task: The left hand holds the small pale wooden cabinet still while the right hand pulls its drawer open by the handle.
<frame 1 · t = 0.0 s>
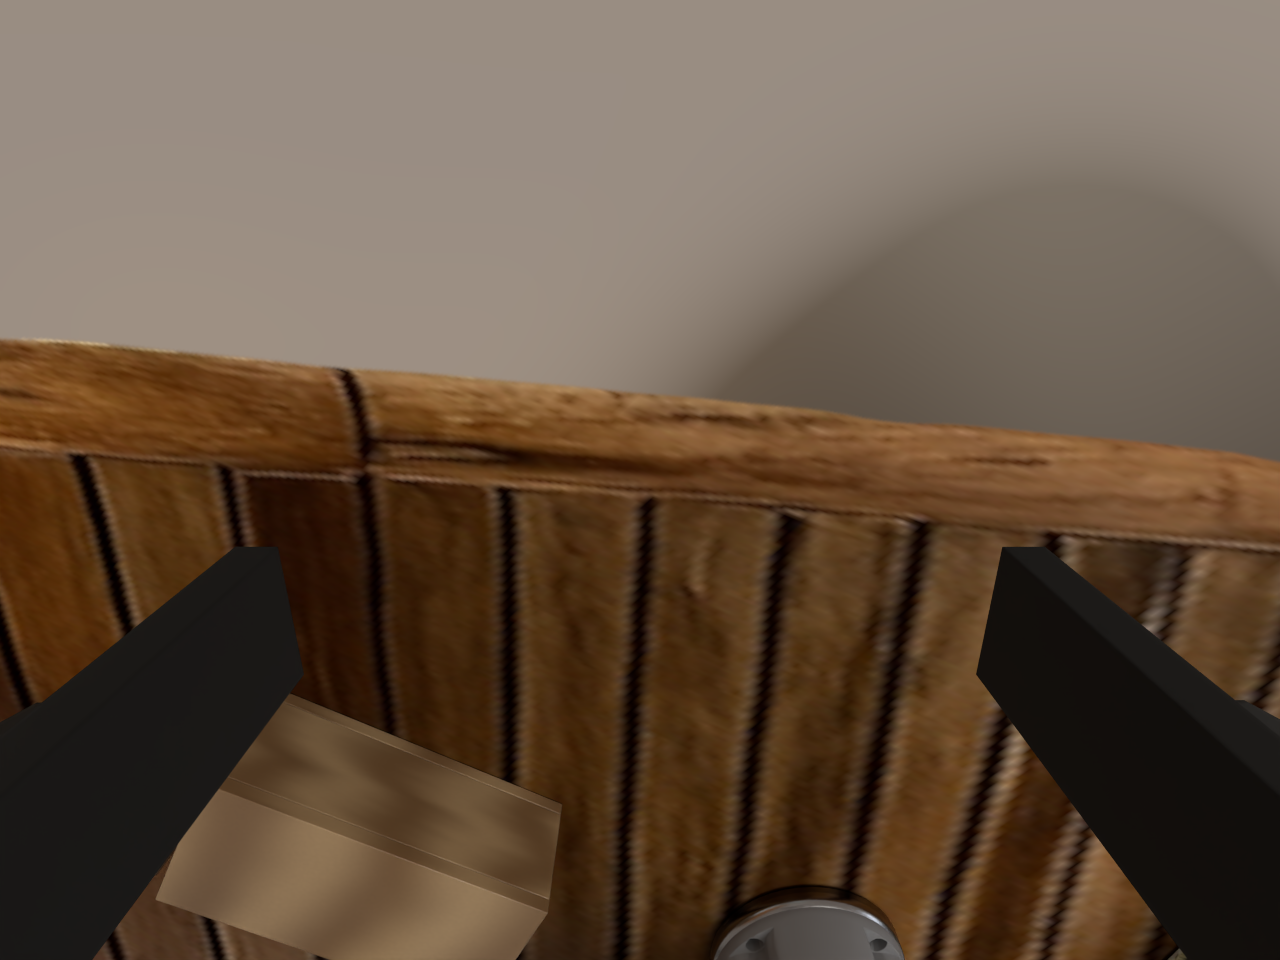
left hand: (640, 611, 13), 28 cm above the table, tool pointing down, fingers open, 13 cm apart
cabinet: (397, 797, 51), on the table
drawer: (304, 820, 46), point 4 cm above the table, slide at 0.7 cm
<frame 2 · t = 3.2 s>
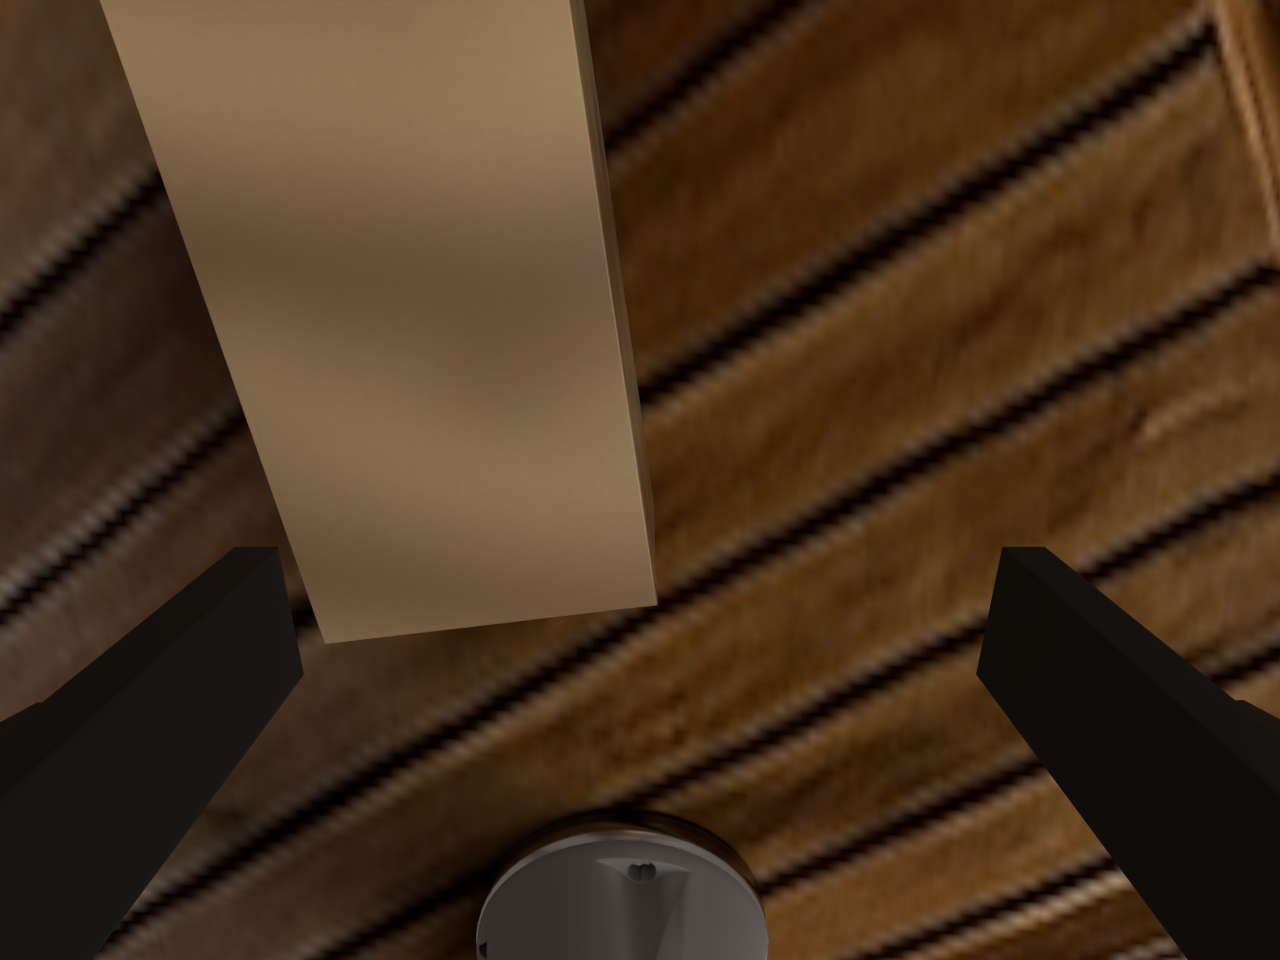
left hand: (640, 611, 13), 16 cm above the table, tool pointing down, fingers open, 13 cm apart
cabinet: (474, 245, 25), on the table
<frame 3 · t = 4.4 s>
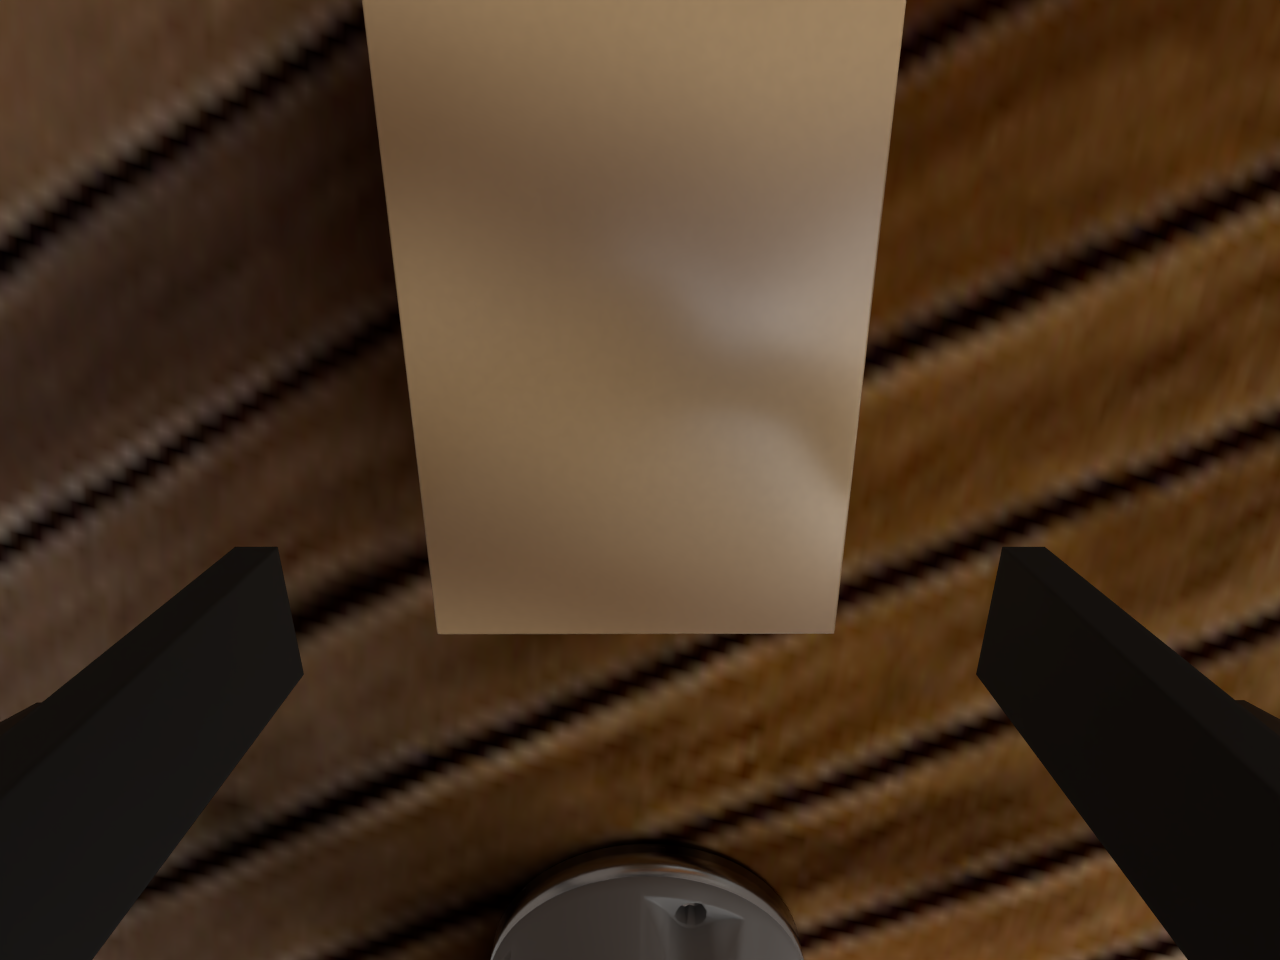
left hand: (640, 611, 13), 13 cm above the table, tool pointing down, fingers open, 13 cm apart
cabinet: (635, 199, 22), on the table
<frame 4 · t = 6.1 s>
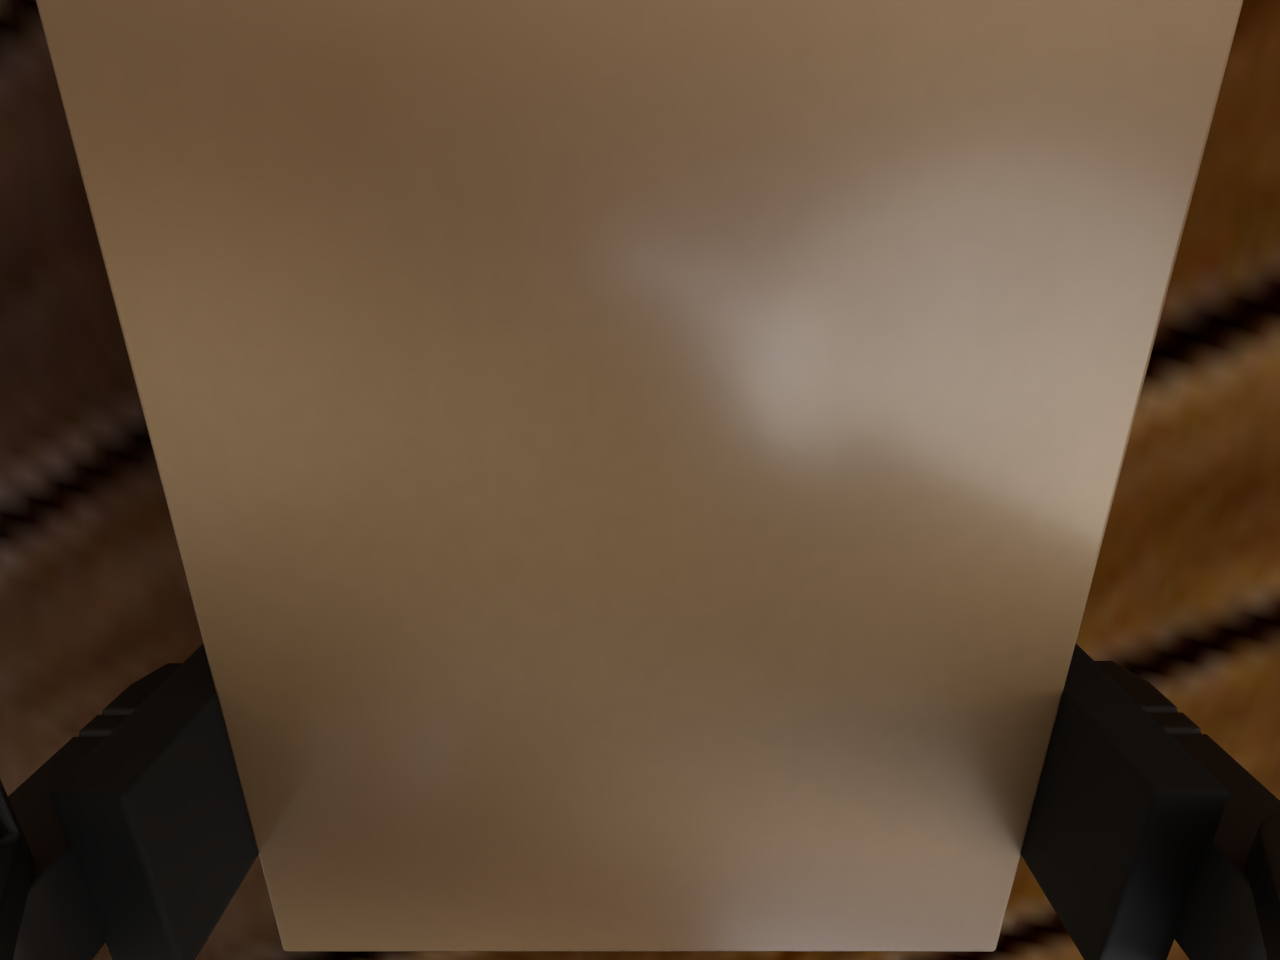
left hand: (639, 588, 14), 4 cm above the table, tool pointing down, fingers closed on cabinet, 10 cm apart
cabinet: (639, 178, 14), on the table, touching left hand
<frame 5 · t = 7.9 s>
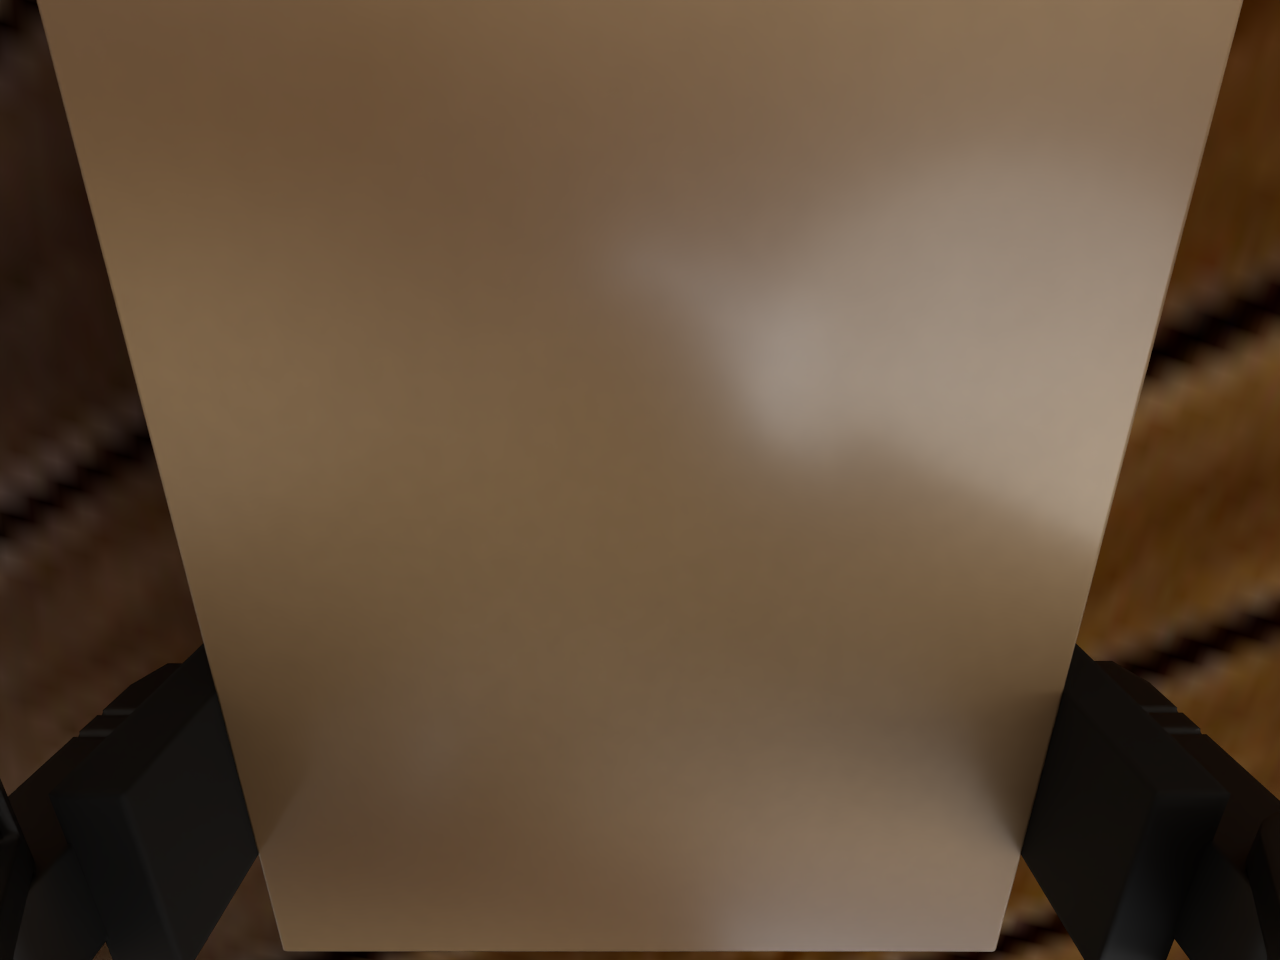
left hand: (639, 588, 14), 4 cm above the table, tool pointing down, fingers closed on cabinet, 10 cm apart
cabinet: (639, 178, 14), on the table, touching left hand
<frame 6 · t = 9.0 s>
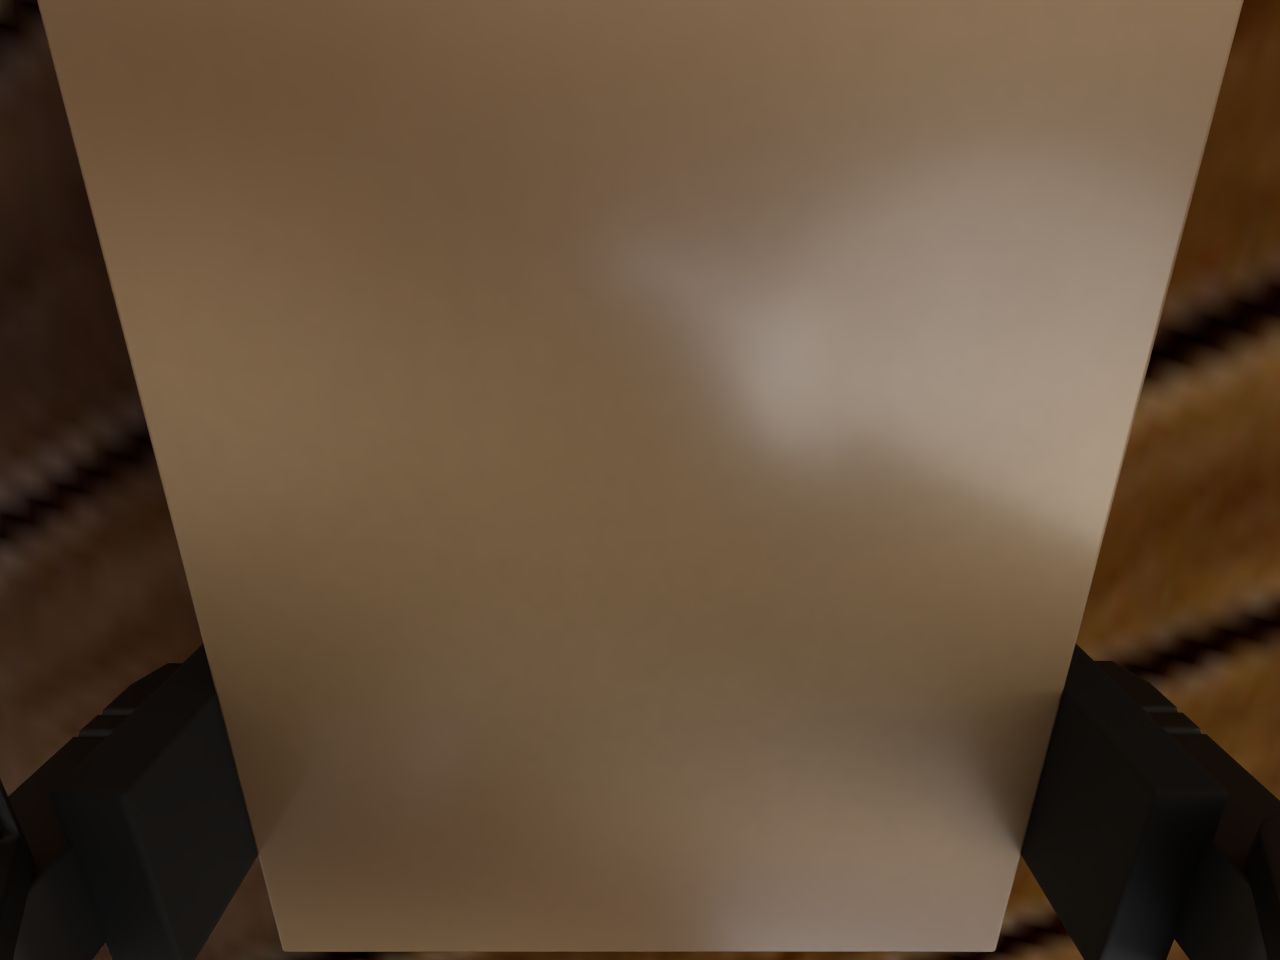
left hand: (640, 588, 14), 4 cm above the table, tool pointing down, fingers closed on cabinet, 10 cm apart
cabinet: (639, 178, 14), on the table, touching left hand
when the left hand's fingers open (4 cm above the table, at t = 10.8 s): cabinet stays where it is, on the table.
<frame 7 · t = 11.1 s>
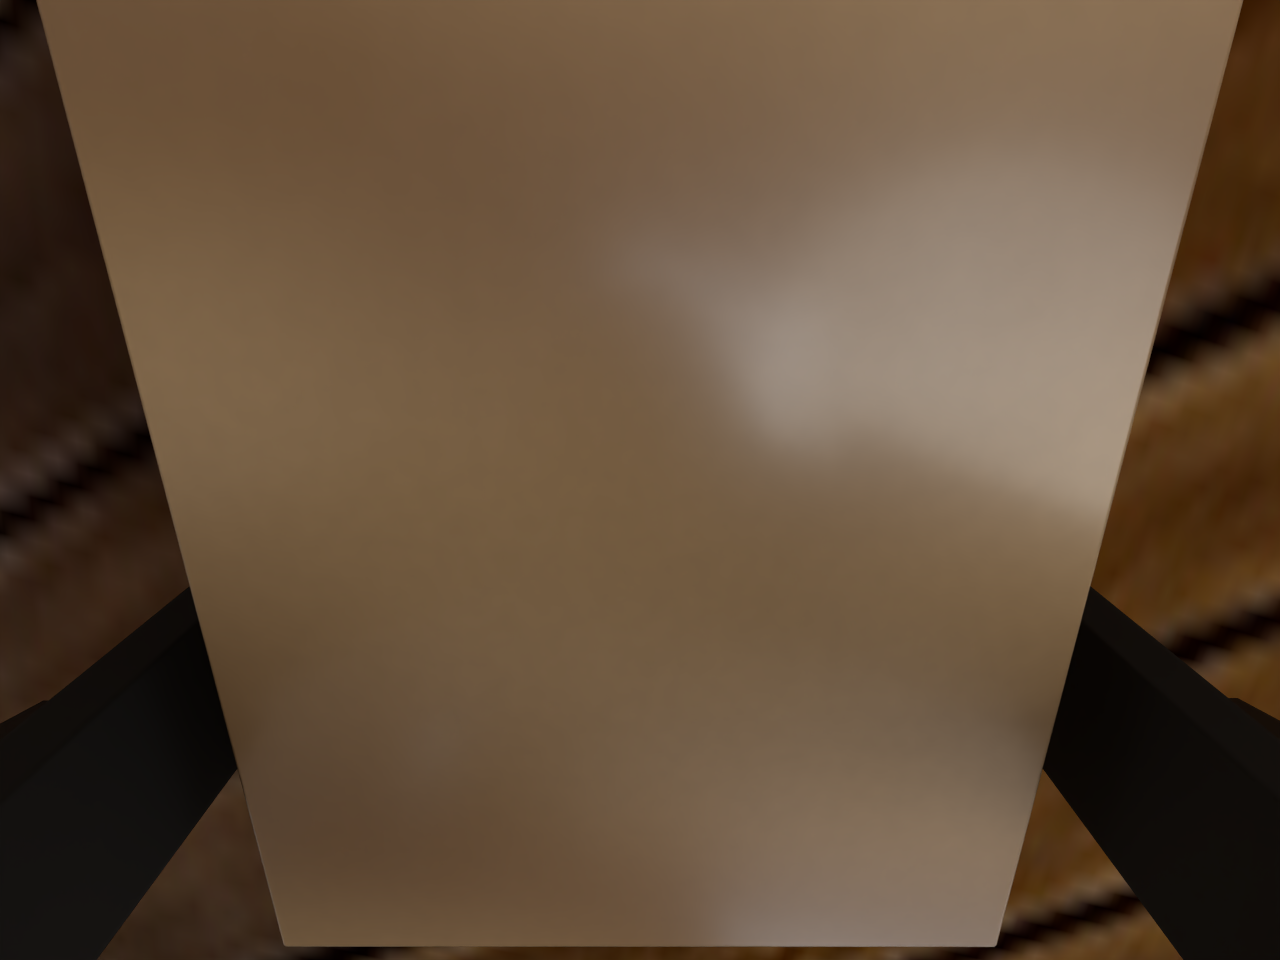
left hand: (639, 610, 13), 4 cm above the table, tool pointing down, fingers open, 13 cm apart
cabinet: (640, 173, 14), on the table
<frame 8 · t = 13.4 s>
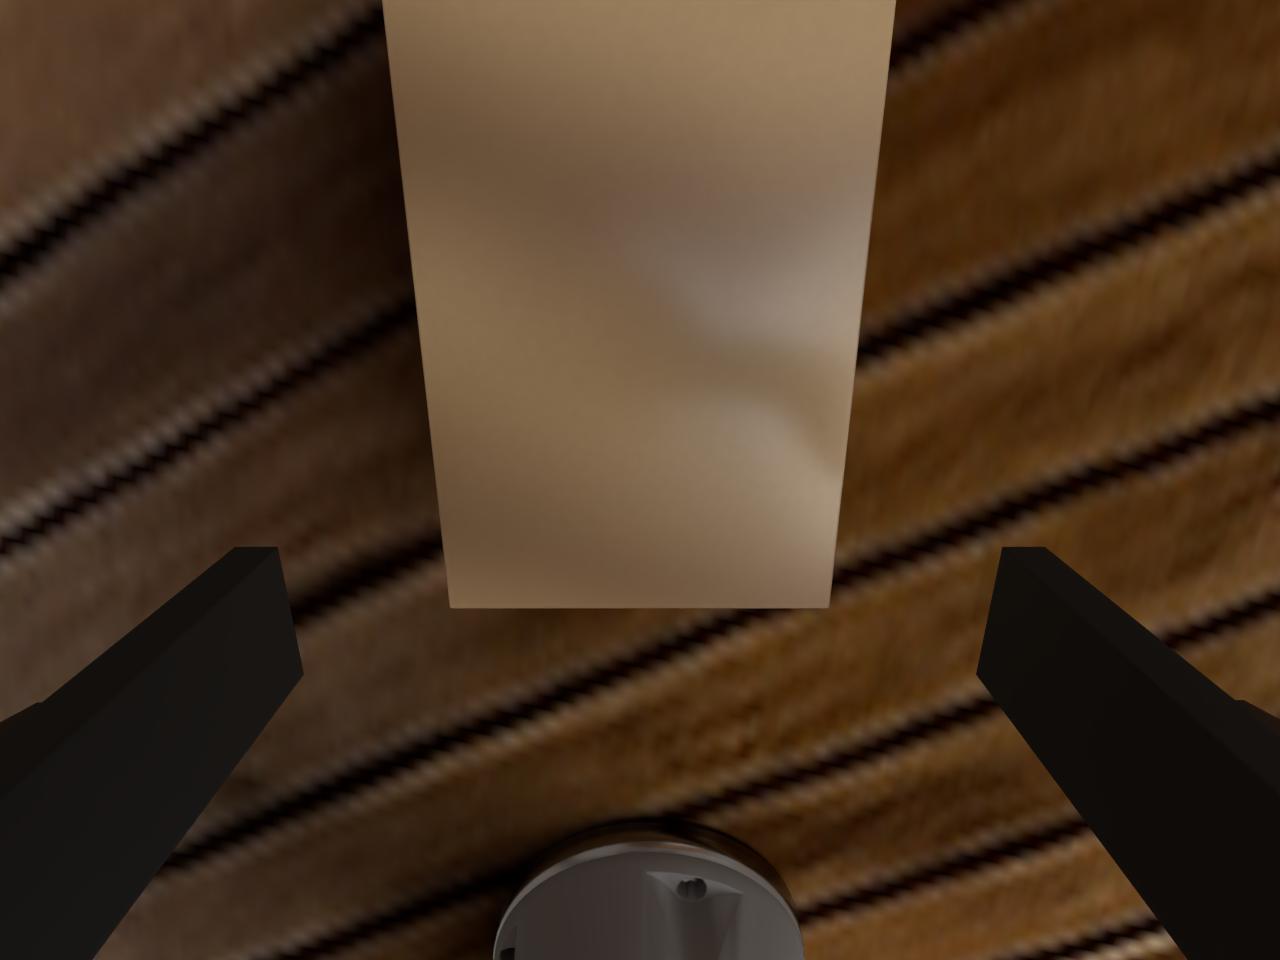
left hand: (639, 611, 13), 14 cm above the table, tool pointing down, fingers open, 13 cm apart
cabinet: (639, 193, 23), on the table
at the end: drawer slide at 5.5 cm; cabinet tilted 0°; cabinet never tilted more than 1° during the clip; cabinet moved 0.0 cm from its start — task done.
